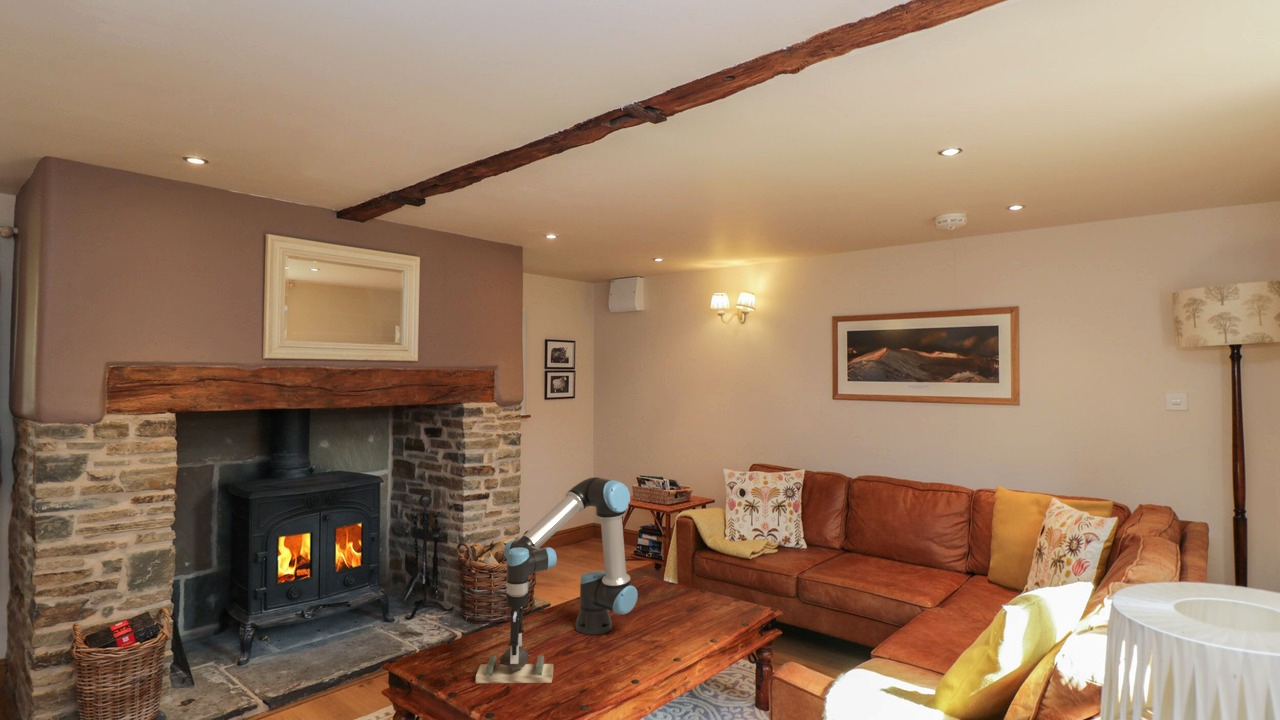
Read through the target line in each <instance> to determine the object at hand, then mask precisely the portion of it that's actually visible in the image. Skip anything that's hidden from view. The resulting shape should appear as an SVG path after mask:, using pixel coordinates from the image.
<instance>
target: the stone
mask: <svg viewBox="0 0 1280 720" xmlns="http://www.w3.org/2000/svg"><path fill="white" fill-rule="evenodd" d="M510 651H511V647H510V648H508V649H507V650H506V651H505V652H503V653H502V654H501V656H500V658H499V662H500V663H499V664H503V665H507V666H508V667H509V668H510V670H511V671H512V672H514V671H516V670H517V669H518V668H520V667H523V666H525V664H528V661H529V659H530V656H529V653H528V651H527V650H526V648H525V647H523V646H522V647H521V646H519V658H518V664H510Z"/></svg>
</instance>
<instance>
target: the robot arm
mask: <svg viewBox="0 0 1280 720" xmlns="http://www.w3.org/2000/svg"><path fill="white" fill-rule="evenodd" d="M630 502H631V494H630V490H629V488H628V487H627V486H626V485H625V484H624V483H623V482H620V481H618V480H615V479H614V480H612V479H607V478H601V477H598V476H597V477H588V478H587V479H586V478H585V479H584V480H582V481H581V482H579V483H577V484H576V485H574V486H573V487H572V488H570V490H568V491H567V492H566V493H565V497H564V498H563V499H562V500H561V501H560V502H559V503H557V505H555V506H554V507H553V508H552V509H551V510H550V511H548V513H546V515H544V516H543V517H542V518H541V519H540V520H539V521H538V522H537V523H536V524H535V525H533V526H532V527H531V528H530V529H528V531H526V532H525V533H524V534H523V535H522V536H521V537H520V538H519V539H517V540H510V541H508V542H507V543H506V544H505V546H504V547H503V555H504V557H505V559H506V583H504V587H506V599H505V600H506V601H505V604H506V606H507V607H509V608H511V610H510V637H509V643H508V644H507V645H508V646H509V647H510V648H511V651H510V664H518V658H519V646H521V647H523V646H522V644H523V641H522V640H523V637H522V635H523V633H525V629H523V627H524V626H523V613H524V608H523V607H525V606H527V605H528V603H529V594H528V592H529V575H531V574H534V573H539V572H541V571H547V570H549V569H553V568H554V567H555V566H556V564H557V562H558V561H557V559H558V558H557V557H558V556H557V553H556V551H555V549H554V548H552V547H543V548H541V547H542V546H543V545H544V544H545V543H546V542H547V541H548V540H549V539H550V538H551V537H552V536H554V534H555V533H557V532H558V531H559V529H561V528H562V527H564V525H565V524H566V523H567V522H568V521H569V520H570V519H571V518H572V517H574V516H575V515H576V514H577V513H578V512H582V511H584V510H585V509H586V508H588V507H595V515H596V517H597V518H599V519H600V528H601V540H602V550H603V551H602V552H603V562H604V563H603V564H604V565H603V566H604V570H594V571H593V570H592V571H587V572H584V573H582V575H581V576H580V585H579V587H580V589H579V594H580V595H579V603H580V604H579V612H578V614H577V618H576V620H575V630H576V631H577V632H579V633H580V634H584V635H592V636H593V635H595V636H596V635H602V634H605V633H608V632H610V631H611V630H612V626H613V625H612V623H613V622H612V619H611V616H610V611H611V612H613V613H615V614H619V615H626V614H628V613H630V612H631V611H632V610H633V609H634V607H635V606H636V604H637V601H638V595H639V594H638V590H637V588H636V587H635V586H634V585H632V581H631V575H629V574H628V573H627V565H626V555H625V552H626V551H625V541H624V538H625V537H624V527H623V516H624V515H625V514H626V510H627V509H628V507H629V505H630Z"/></svg>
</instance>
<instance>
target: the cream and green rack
mask: <svg viewBox="0 0 1280 720" xmlns="http://www.w3.org/2000/svg"><path fill="white" fill-rule="evenodd" d="M536 660H537V661H536V663H526V664H525V666H523V667H520V668H518V669H517V670H516V671H514V672H512V671H511V670H510V668H509V667H508V666H507V665H503V664H501V663H497V655H490V656H489V659H488V662H487V663H481V664H480V665H479V667H478V669H477V671H476V675H475V684H526V683H527V684H531V683H533V684H534V683H537V684H539V683H541V684H542V683H543V684H544V683H545V684H546V683H547V684H548V683H549V684H550V683H551V684H552V681H553V675H554V667H555V665H554V663H545V655H538V656H537V659H536Z"/></svg>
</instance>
